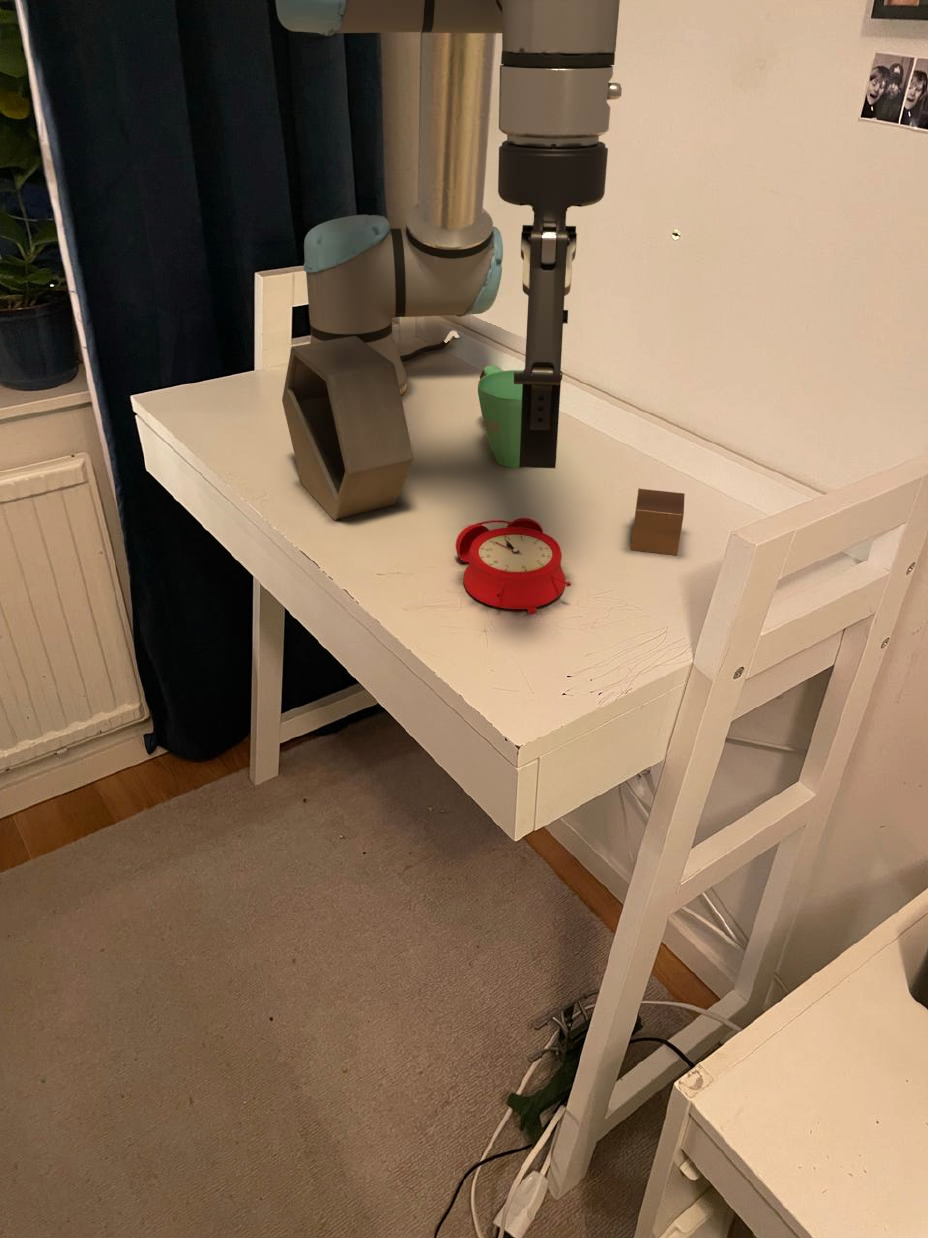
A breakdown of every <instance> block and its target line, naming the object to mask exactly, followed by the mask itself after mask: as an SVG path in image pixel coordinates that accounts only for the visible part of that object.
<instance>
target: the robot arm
mask: <svg viewBox="0 0 928 1238" xmlns="http://www.w3.org/2000/svg"><path fill="white" fill-rule="evenodd" d="M620 4H621V0H275V8H276V14H277V15H276V16H277V18H278V20H279V22H280V24H281V25H282V26H283V27H284V28H285V29H287V30H288V31H291V32H297V33H298V32H299V33H301V32H302V33H315V34H317V33H318V34H319V35H321V36H333V35H334V34H370V33H378V34H379V33H383V34H385V33H420V41H419V42H420V44H419V45H420V51H419V52H420V53H419V55H420V56H419V110H418V111H419V112H418V113H419V114H418V121H419V122H418V169H417V170H418V172H417V173H418V175H417V176H418V177H417V204H415V205H414V206H412V207H411V208H410V210H409V211H408V212H407V215H406V220H405V227H399V228H398V227H397V228H391V224H390V223H389V221H388V219H387V217H385V216H383V215H378V214H371V215H369V214H356V215H349V216H344V217H339V218H334V219H330V220H328V221H325V222H322V223H319V224H318V225H316V226H314V227H313V228H311V229H310V230H309V231H308V232H307V234H306V235H305V237H304V241H303V242H304V243H303V252H304V253H303V254H304V263H303V271H304V272H305V274H306V275H305V276H306V277H305V278H306V289H307V300H308V301H307V303H308V317H309V327H310V342H309V344H310V343H316V342H322V341H328V340H334V339H340V338H346V337H351V336H356V337H358V338H359V339H361V340H362V341H363V342H365V343H366V344H368V345H369V346H370V347H372V348H373V349H375V350H376V351H377V352H379V353H380V354H381V355H383V356H384V357H386V358H387V359H388V360H390V361H391V362H393V363H394V365H395V368H396V373H397V378H398V383H399V388H400V393H401V396H402V395H404V394H405V392H406V390H407V385H408V384H407V374H406V369H405V367H404V366H403V363H405V362H409V361H411V360H414V359H416V358H418V357H420V356H421V355H424V354H427V353H431V352H437V351H439V350H442V349H444V348H445V347H447V346H448V345H449V343H450V342H451V341H448V342H447V343H445V342H444V341H443V340H441V342H438V343H435V344H429V345H426V346H423V347H419V348H417V349H416V350H414V351H412V352H410V353H407V354H403V355H400V352H399V350H398V347H397V345H396V344H397V343H396V342H395V339H394V335H393V319H394V318H413V317H414V318H417V317H419V318H420V317H445V316H446V317H448V316H456V317H458V318H462V317H465V316H469V315H481V314H484V313H486V312H487V311H489V310H490V309H491V308H492V306H493V305H494V303H495V302H496V299H497V296H498V293H499V289H500V285H501V280H502V272H503V266H502V263H503V259H504V258H503V257H504V245H503V238H502V233H501V231H500V229H499V228H498V227H496V226H494V223H493V219H492V217H491V214H490V213H489V212H488V211H487V210H486V209H485V208H484V201H485V200H484V197H485V186H486V174H487V173H486V172H487V161H488V146H489V134H490V133H489V132H490V119H491V109H492V94H493V83H494V81H493V80H494V69H495V55H496V45H497V34H502V35H501V57H500V65H499V86H498V88H499V89H498V90H499V93H498V94H499V95H498V97H499V98H498V130H499V131H500V132H501V133H502V134H505V135H506V137H507V138H506V140H504V141H502V143H501V145H500V146H499V147H498V173H497V174H498V175H497V194H498V196H499V197H500V199H501V200H502V201H503V202H505V203H508V204H511V205H515V206H520V207H521V206H528V207H531V211H532V212H533V222H532V224H522V229H521V233H520V234H521V236H520V258H521V260H522V261H523V263H522V265H523V266H522V292H523V294H525V295H526V296H527V300H528V301H527V315H526V316H527V317H526V338H525V339H526V340H525V358H524V359H525V360H524V369H523V370H524V371H523V372H514V384H523V385H522V411H521V436H520V462H519V467H521V468H532V469H533V468H534V469H535V468H536V469H537V468H538V469H556V468H557V467H556V466H557V454H558V453H557V452H558V451H557V449H558V438H559V437H558V436H559V435H558V434H559V422H560V421H559V419H560V403H561V386H562V380H563V375H564V374H563V373H564V372H563V371H562V354H563V352H562V351H563V335H564V334H563V333H564V332H563V331H564V324H565V325H567V324H569V322H568V321H569V310H568V309H565V296H567V295H569V293H570V292H571V287H572V270H573V261H574V260H575V259H576V253H577V237H578V232H577V225H567V212H568V209H569V208H571V207H579V208H580V207H581V208H583V207H588V206H592V205H595V204H597V203H599V202H600V201H602V200H603V198H604V196H605V192H606V180H607V166H608V155H609V148H608V147H606V143H604V142H603V141H600V137H601V136H604V135H606V133H607V132H608V131H609V129H610V119H611V109H612V108H611V106H610V104H609V103H608V101H611V100H619V99H620V98H621V97H622V93H623V92H622V91H623V90H622V89H623V88H622V85H621V83H618V82H610V81H611V80H612V78H613V76H614V66H615V60H616V59H615V58H616V52H617V51H616V50H617V37H618V28H619V27H618V25H619V14H620Z"/></svg>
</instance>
